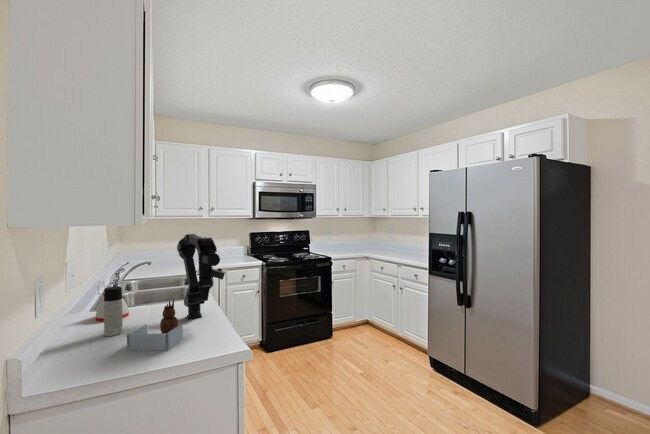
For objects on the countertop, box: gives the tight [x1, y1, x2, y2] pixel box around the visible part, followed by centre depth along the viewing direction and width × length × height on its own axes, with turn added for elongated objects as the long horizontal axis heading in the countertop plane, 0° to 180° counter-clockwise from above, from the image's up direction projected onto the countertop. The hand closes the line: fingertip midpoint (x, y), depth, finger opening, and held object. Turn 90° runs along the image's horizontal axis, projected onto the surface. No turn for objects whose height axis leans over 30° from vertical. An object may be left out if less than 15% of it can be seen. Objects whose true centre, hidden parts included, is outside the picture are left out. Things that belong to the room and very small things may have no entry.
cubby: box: [126, 323, 183, 351], centre depth 126 cm, size 11×16×6 cm
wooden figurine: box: [159, 299, 179, 334], centre depth 136 cm, size 7×6×15 cm
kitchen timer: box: [95, 292, 130, 323], centre depth 161 cm, size 14×14×15 cm
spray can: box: [103, 285, 124, 337], centre depth 138 cm, size 7×7×20 cm
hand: (206, 298), depth 148 cm, fingers open, 9 cm apart
